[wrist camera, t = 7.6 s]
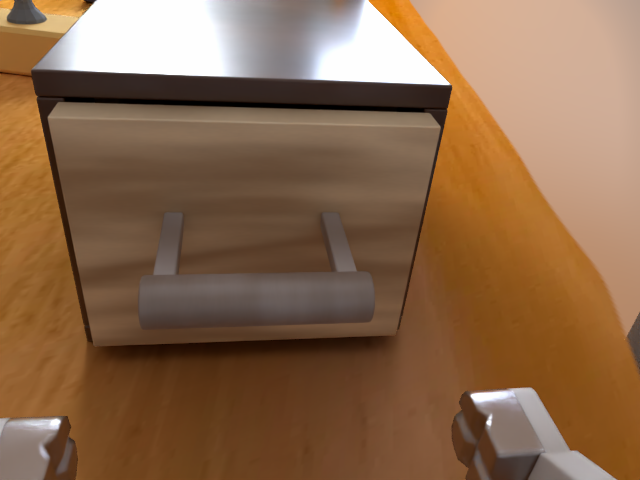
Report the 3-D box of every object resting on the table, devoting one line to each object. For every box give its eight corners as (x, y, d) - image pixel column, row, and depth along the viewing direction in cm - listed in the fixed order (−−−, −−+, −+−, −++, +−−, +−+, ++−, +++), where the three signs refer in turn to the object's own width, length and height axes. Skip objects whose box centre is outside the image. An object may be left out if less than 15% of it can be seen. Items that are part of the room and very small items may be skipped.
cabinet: (399, 330, 23) (453, 85, 18) (86, 342, 21) (29, 69, 16) (339, 165, 36) (358, -10, 30) (139, 162, 34) (118, -25, 28)
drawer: (432, 437, 18) (504, 204, 13) (61, 462, 16) (-15, 203, 11) (337, 168, 34) (354, 17, 29) (143, 166, 32) (126, 3, 27)
